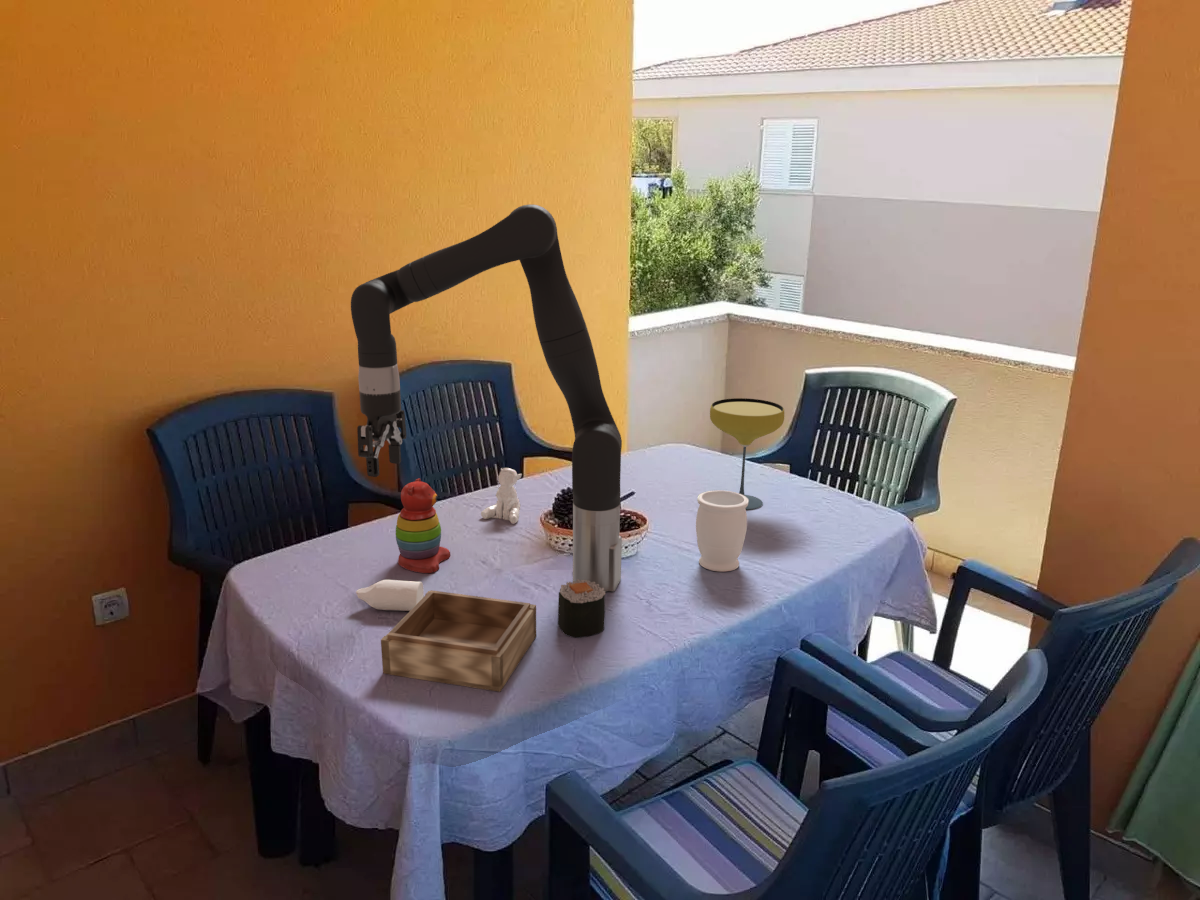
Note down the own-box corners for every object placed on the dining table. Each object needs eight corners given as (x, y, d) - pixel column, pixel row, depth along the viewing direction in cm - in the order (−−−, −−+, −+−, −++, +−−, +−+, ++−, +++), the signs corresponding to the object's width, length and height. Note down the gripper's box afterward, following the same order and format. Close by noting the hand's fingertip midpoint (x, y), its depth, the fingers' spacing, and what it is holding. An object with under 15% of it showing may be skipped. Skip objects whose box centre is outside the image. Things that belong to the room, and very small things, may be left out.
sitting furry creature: (479, 518, 211) (478, 471, 207) (496, 507, 219) (495, 460, 215) (515, 524, 208) (514, 476, 204) (531, 512, 216) (530, 465, 212)
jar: (749, 559, 191) (754, 494, 186) (736, 578, 182) (740, 510, 177) (702, 550, 195) (706, 486, 190) (687, 568, 186) (690, 501, 181)
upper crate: (530, 633, 157) (530, 603, 155) (497, 684, 141) (496, 650, 139) (432, 620, 161) (430, 590, 159) (389, 667, 146) (387, 634, 144)
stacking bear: (434, 574, 181) (430, 493, 176) (388, 569, 183) (383, 488, 178) (453, 553, 191) (450, 475, 186) (409, 549, 193) (405, 472, 188)
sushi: (569, 641, 156) (569, 600, 154) (552, 620, 164) (552, 580, 161) (611, 632, 159) (612, 592, 157) (593, 612, 167) (593, 573, 164)
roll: (362, 600, 170) (360, 573, 169) (424, 602, 170) (423, 575, 168) (353, 614, 164) (350, 587, 163) (417, 616, 164) (415, 589, 162)
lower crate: (536, 636, 158) (536, 604, 156) (500, 691, 141) (499, 657, 139) (430, 621, 162) (428, 590, 160) (382, 673, 145) (380, 639, 143)
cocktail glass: (726, 485, 236) (731, 394, 229) (789, 500, 226) (797, 405, 219) (692, 504, 222) (696, 408, 215) (757, 521, 212) (764, 420, 205)
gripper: (378, 398, 160) (383, 483, 164) (415, 381, 173) (419, 460, 177) (341, 394, 161) (348, 479, 166) (380, 378, 175) (385, 457, 179)
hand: (384, 469), depth 172 cm, fingers open, 8 cm apart
